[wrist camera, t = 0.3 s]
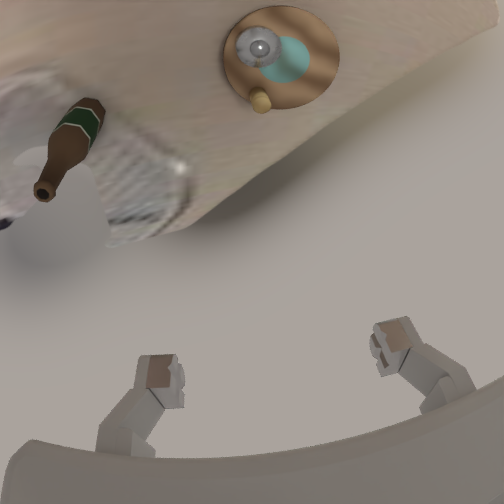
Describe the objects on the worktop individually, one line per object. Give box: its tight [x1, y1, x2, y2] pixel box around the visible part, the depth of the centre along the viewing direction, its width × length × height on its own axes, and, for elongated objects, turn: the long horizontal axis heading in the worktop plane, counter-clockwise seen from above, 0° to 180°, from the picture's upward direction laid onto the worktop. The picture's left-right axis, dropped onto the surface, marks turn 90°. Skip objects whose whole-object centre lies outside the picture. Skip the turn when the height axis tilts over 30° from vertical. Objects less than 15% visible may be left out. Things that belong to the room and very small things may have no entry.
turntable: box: [223, 6, 340, 114], centre depth 42 cm, size 20×20×7 cm
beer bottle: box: [34, 98, 105, 202], centre depth 41 cm, size 8×8×24 cm
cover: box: [235, 25, 282, 68], centre depth 39 cm, size 7×7×4 cm
